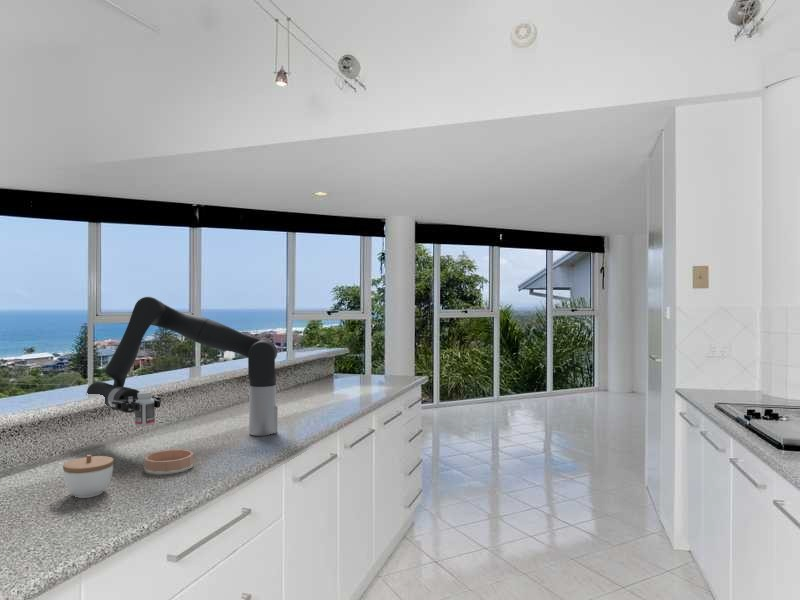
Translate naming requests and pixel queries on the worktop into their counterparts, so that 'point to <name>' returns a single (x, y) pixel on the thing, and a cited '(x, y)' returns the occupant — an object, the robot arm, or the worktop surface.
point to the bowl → (168, 461)
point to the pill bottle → (145, 409)
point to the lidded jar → (88, 475)
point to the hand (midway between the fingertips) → (148, 405)
